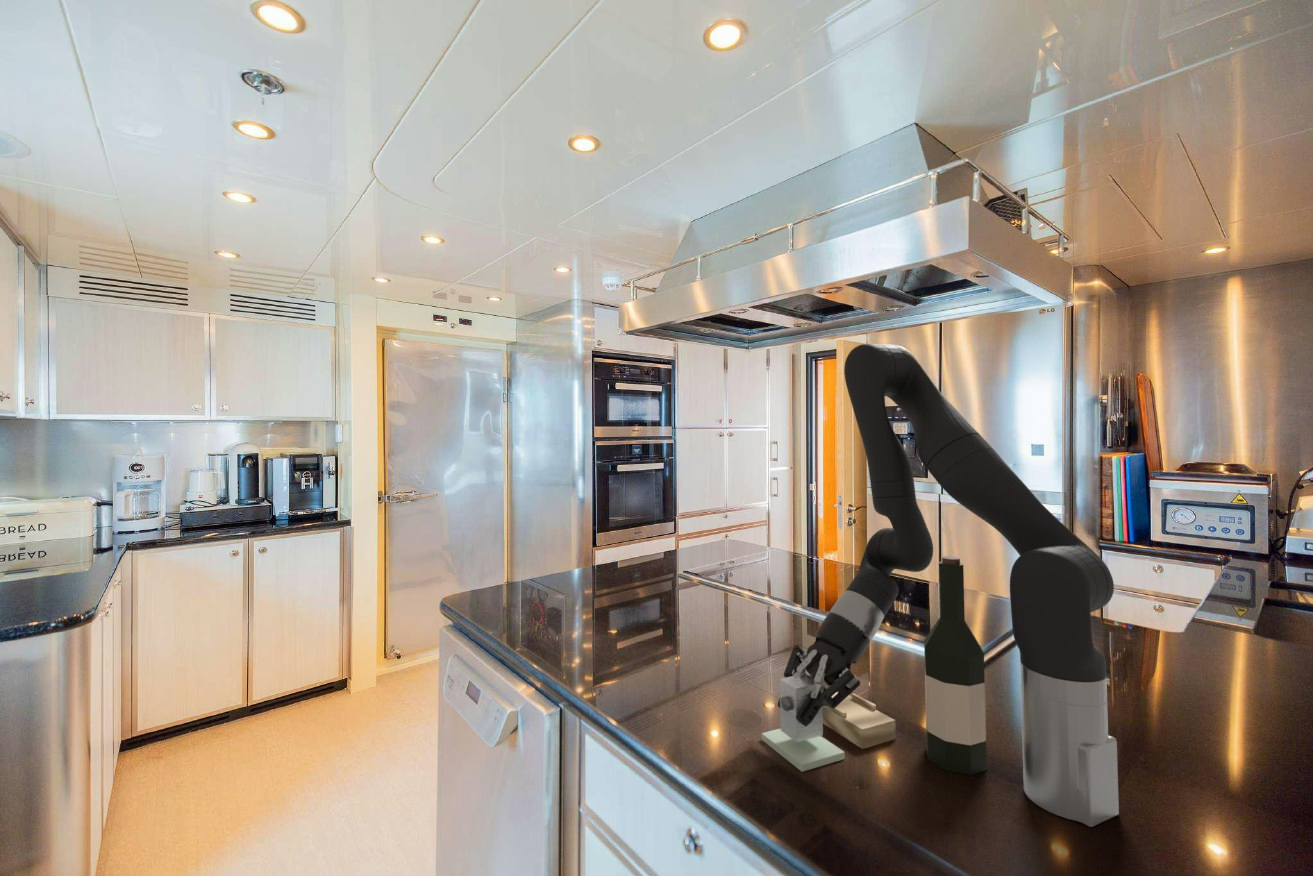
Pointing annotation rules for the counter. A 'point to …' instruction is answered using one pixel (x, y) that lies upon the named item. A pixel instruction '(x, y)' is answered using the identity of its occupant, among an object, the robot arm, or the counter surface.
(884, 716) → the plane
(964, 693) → the wine bottle
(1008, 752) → the counter surface
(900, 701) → the counter surface
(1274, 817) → the counter surface
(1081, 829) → the counter surface
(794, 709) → the grey upright block
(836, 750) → the pad
